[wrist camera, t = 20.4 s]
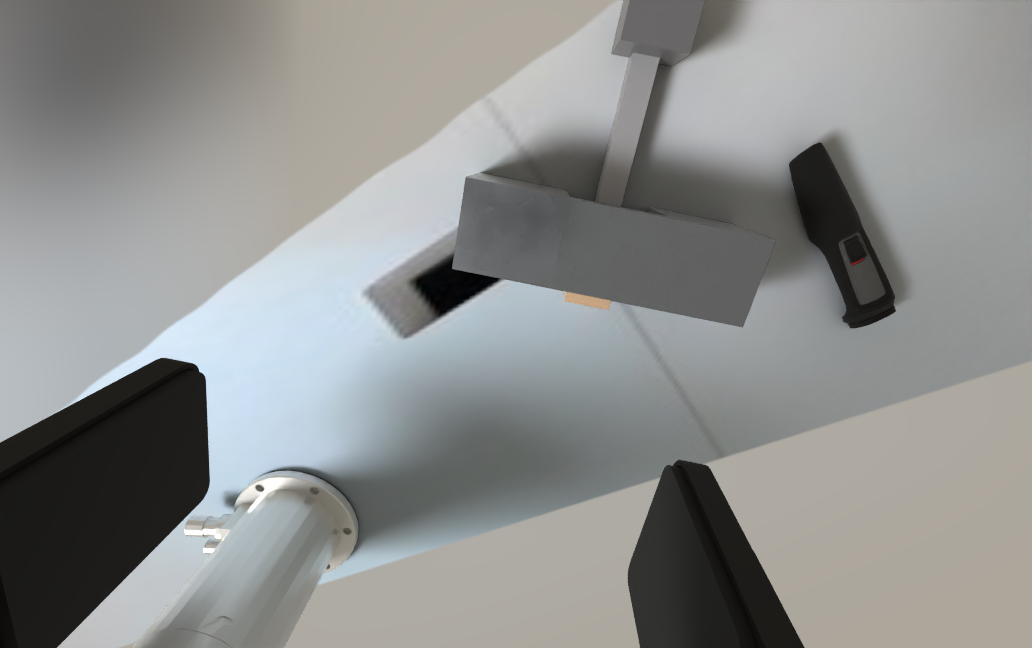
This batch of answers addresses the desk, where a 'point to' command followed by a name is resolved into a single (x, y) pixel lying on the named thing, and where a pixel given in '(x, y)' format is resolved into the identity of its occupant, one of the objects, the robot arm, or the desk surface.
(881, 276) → the electric trimmer
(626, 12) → the lever
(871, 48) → the desk surface
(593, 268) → the block
